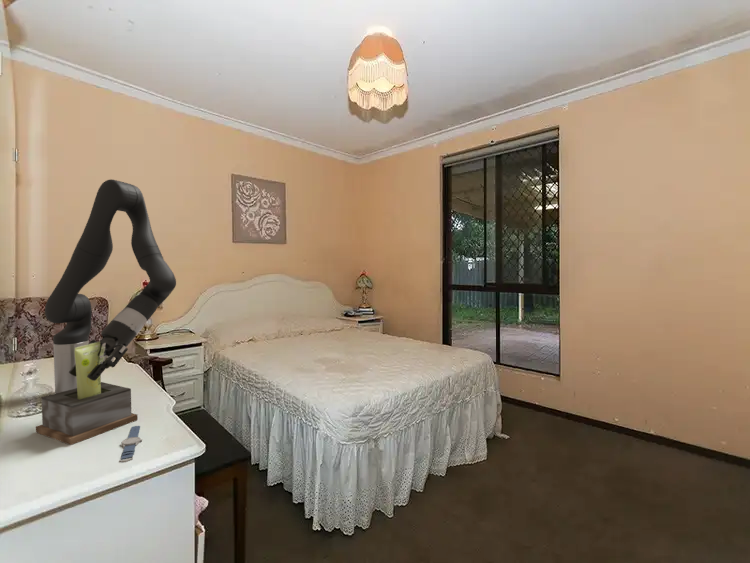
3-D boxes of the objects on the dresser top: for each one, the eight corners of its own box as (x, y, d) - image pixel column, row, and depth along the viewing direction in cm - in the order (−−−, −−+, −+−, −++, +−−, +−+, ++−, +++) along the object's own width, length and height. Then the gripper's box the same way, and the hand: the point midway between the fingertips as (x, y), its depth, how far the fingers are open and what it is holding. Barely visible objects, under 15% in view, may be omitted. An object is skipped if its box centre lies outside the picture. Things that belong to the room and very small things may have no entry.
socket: (35, 432, 96) (34, 397, 95) (103, 410, 110) (102, 380, 110) (70, 445, 89) (69, 408, 89) (137, 419, 104) (136, 388, 103)
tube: (100, 417, 99) (98, 345, 98) (76, 422, 96) (74, 347, 95) (102, 410, 104) (100, 341, 103) (79, 414, 101) (77, 343, 100)
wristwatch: (114, 465, 80) (114, 461, 80) (127, 429, 98) (127, 425, 98) (137, 461, 82) (137, 456, 82) (145, 426, 100) (145, 422, 100)
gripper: (100, 317, 108) (54, 366, 98) (130, 320, 102) (85, 373, 92) (119, 332, 113) (77, 380, 103) (150, 336, 107) (108, 387, 97)
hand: (81, 376), depth 98 cm, fingers open, 8 cm apart
